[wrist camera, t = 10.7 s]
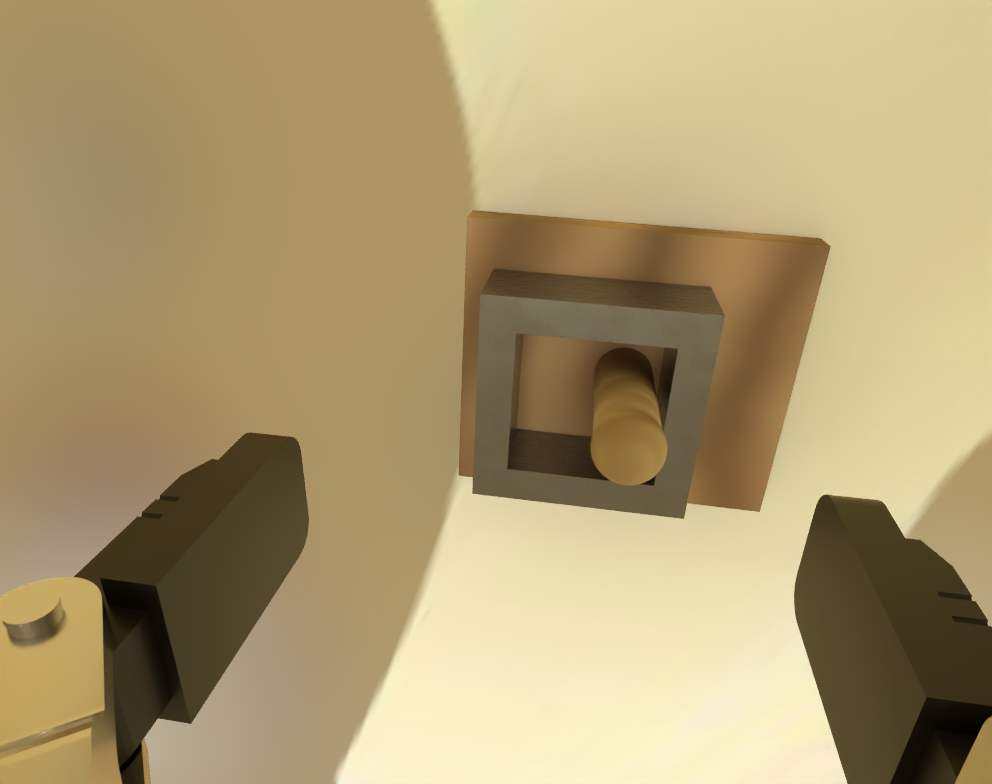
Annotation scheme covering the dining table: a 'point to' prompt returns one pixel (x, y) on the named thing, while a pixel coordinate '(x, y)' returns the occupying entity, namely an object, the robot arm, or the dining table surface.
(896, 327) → the dining table surface
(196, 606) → the robot arm
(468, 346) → the keeper board
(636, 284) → the steel link
